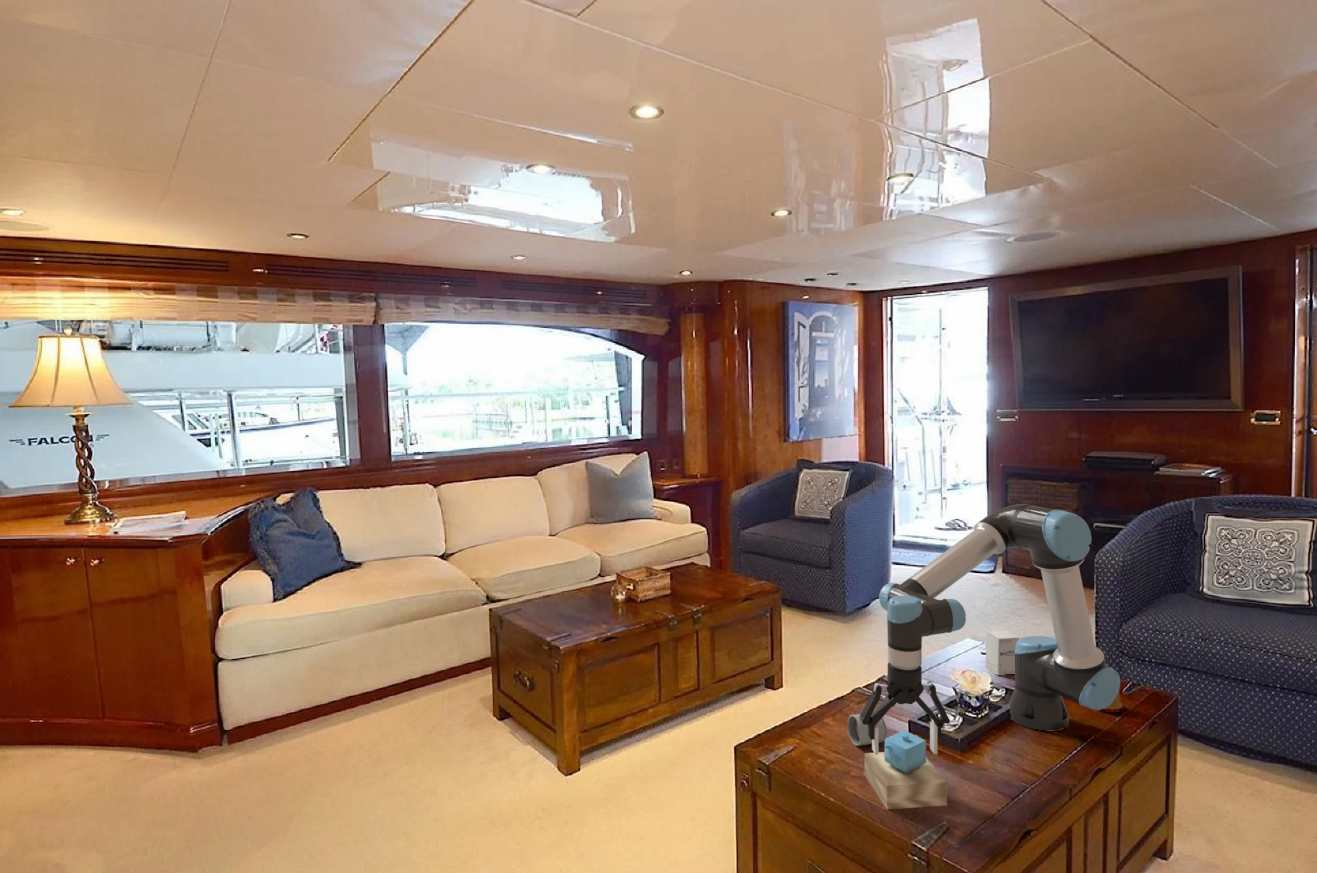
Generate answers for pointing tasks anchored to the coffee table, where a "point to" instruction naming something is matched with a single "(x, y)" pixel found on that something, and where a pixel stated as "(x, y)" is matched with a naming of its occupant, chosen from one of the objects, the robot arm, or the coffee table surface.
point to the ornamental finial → (1115, 703)
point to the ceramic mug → (864, 731)
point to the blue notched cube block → (905, 751)
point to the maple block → (905, 784)
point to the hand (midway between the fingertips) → (904, 751)
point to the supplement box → (1001, 652)
